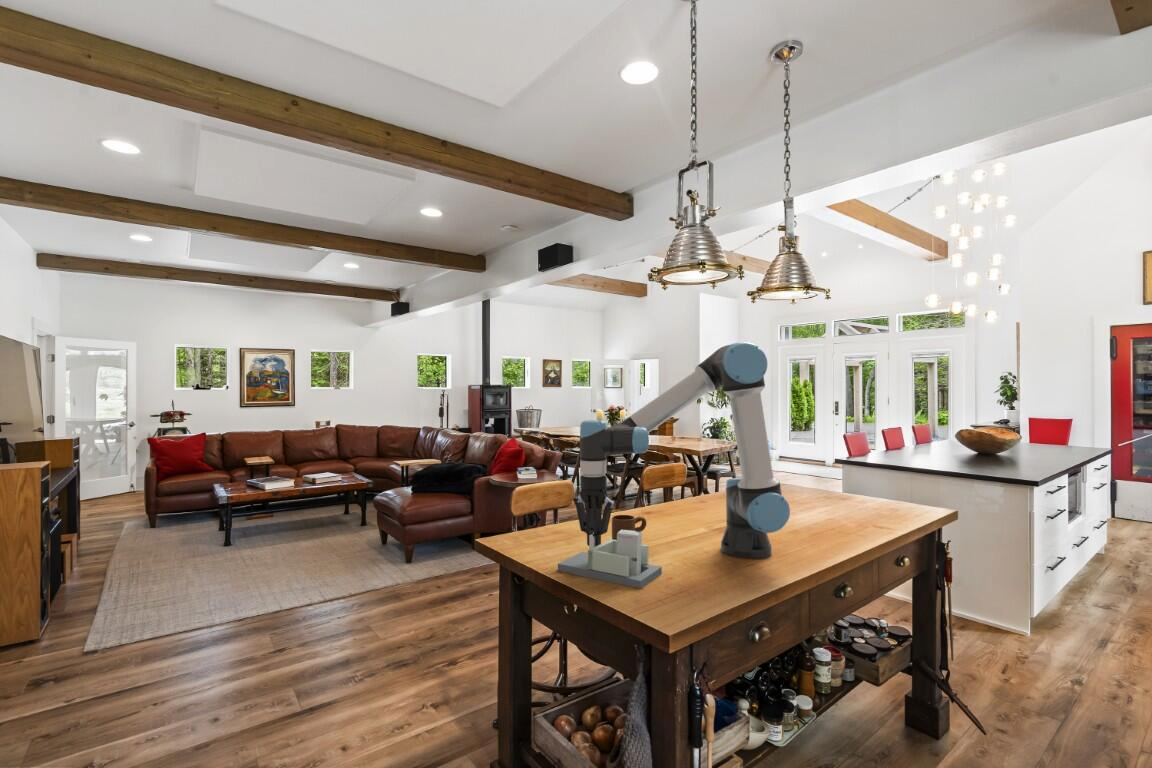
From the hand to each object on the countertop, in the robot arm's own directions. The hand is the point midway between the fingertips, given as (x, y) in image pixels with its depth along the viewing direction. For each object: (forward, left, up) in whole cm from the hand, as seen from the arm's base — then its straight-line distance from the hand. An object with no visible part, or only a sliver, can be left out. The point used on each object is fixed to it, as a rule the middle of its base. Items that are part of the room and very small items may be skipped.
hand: (594, 557), depth 155 cm
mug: (+2, -26, -4) cm, 26 cm away
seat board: (-5, 0, -3) cm, 6 cm away
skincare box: (-11, 0, -4) cm, 12 cm away
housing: (-8, 0, -1) cm, 8 cm away
